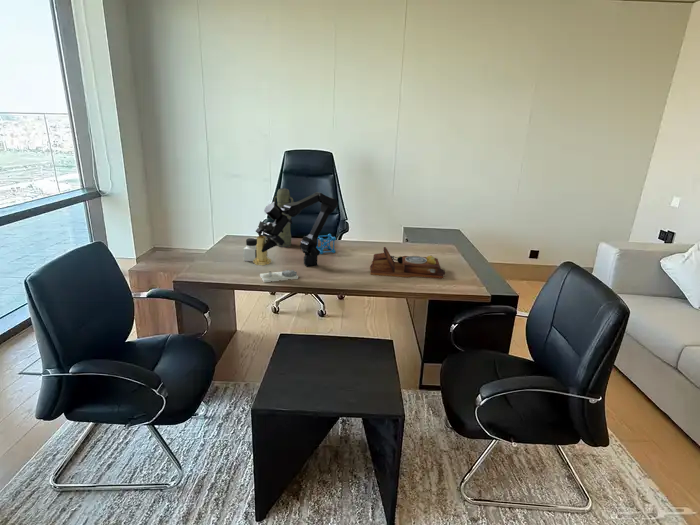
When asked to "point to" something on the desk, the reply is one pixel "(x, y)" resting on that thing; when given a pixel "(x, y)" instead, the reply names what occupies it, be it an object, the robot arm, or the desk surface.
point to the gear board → (279, 276)
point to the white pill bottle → (250, 249)
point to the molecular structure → (326, 243)
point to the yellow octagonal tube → (261, 256)
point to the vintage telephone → (405, 266)
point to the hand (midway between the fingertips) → (259, 250)
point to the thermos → (283, 199)
